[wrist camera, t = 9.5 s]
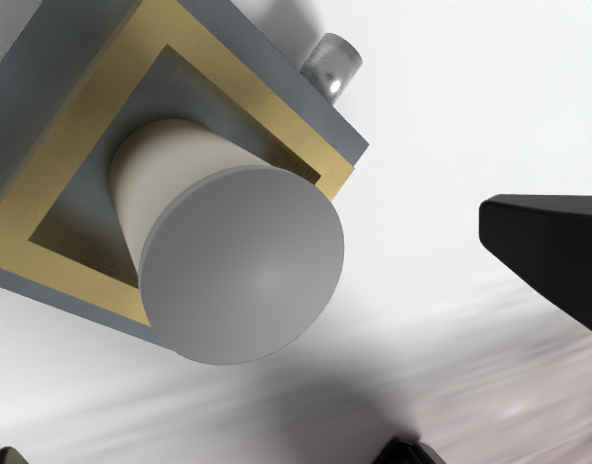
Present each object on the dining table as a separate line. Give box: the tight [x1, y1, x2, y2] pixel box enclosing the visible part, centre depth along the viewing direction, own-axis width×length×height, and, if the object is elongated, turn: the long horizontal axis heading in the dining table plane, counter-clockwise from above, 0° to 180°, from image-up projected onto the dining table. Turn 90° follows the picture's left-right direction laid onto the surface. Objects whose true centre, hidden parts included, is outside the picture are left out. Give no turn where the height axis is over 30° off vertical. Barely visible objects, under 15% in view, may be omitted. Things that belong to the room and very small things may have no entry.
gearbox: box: [0, 0, 369, 350], centre depth 16 cm, size 14×12×6 cm
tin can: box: [108, 119, 344, 365], centre depth 12 cm, size 5×5×7 cm
